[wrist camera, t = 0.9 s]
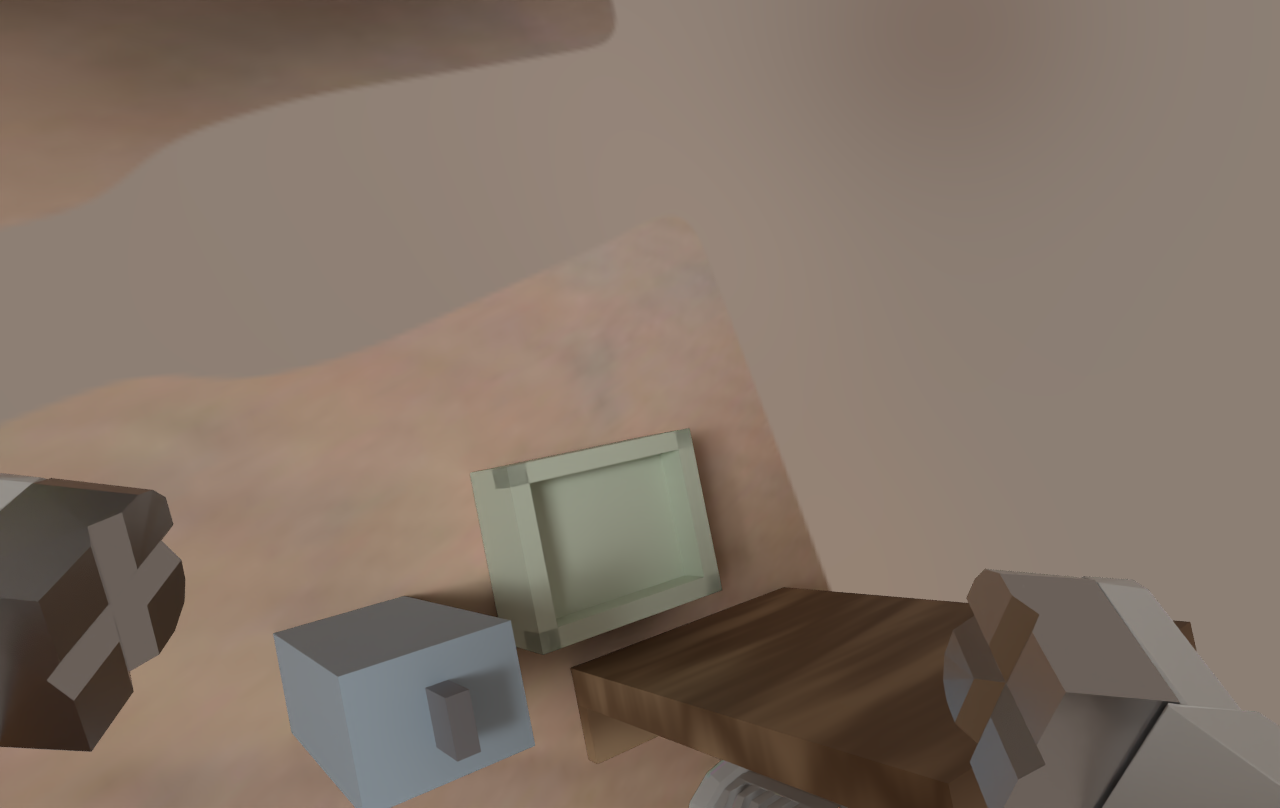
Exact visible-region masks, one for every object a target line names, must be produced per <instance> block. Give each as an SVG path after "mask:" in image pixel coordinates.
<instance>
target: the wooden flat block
mask: <svg viewBox="0 0 1280 808" xmlns="http://www.w3.org/2000/svg"><path fill="white" fill-rule="evenodd" d="M973 616H974V613H973V611H972V609H971V607H970V605H969V603H960V602H949V601H937V600H926V599H914V598H902V597H889V596H879V595H866V594H855V593H843V592H832V591H820V590H808V589H797V588H785V587H784V588H781V589H778V590H776V591H773V592H771V593H768V594H765V595H763V596H760V597H757V598H755V599H752V600H749V601H747V602H744V603H742V604H739V605H736V606H734V607H731V608H728V609H726V610H723V611H720V612H718V613H715V614H713V615H710V616H707V617H705V618H702V619H699V620H697V621H694V622H691V623H689V624H686V625H684V626H681V627H678V628H676V629H673V630H670V631H668V632H665V633H663V634H660V635H657V636H655V637H652V638H649V639H647V640H644V641H641V642H639V643H636V644H634V645H631V646H628V647H626V648H623V649H620V650H618V651H615V652H612V653H610V654H607V655H605V656H602V657H599V658H597V659H594V660H591V661H589V662H586V663H584V664H581V665H578V666H576V667H573V668H571V672H572V677H573V682H574V687H575V692H576V697H577V703H578V708H579V713H580V718H581V723H582V728H583V733H584V738H585V743H586V748H587V753H588V758H589V760H590V761H592V762H594V763H596V764H599V763H601V762H604V761H606V760H608V759H610V758H612V757H614V756H616V755H619V754H621V753H623V752H625V751H627V750H629V749H632V748H634V747H636V746H638V745H640V744H642V743H644V742H647V741H649V740H651V739H653V738H655V737H657V736H661V737H664V738H666V739H669V740H672V741H674V742H677V743H680V744H682V745H685V746H687V747H690V748H693V749H695V750H698V751H701V752H703V753H706V754H709V755H711V756H714V757H716V758H719V759H722V760H724V761H727V762H730V763H732V764H735V765H737V766H740V767H743V768H745V769H748V770H751V771H753V772H756V773H758V774H761V775H764V776H766V777H769V778H772V779H774V780H777V781H779V782H782V783H785V784H787V785H790V786H793V787H795V788H798V789H801V790H803V791H806V792H808V793H811V794H814V795H816V796H819V797H822V798H824V799H827V800H829V801H832V802H835V803H837V804H840V805H843V806H845V807H848V808H988V807H987V805H986V802H985V799H984V797H983V794H982V792H981V789H980V787H979V784H978V782H977V779H976V777H975V774H974V772H973V769H972V766H971V764H970V760H971V757H972V755H973V753H974V750H975V748H976V745H977V743H976V742H975V741H974V740H973V739H972V738H971V737H970V736H969V735H968V734H966V733H965V732H964V731H963V730H962V729H961V728H960V727H959V726H958V725H957V724H955V722H954V720H953V717H952V714H951V712H950V709H949V706H948V703H947V700H946V694H945V689H944V683H943V672H944V654H945V651H946V649H947V646H948V643H949V640H950V637H951V635H952V632H953V630H954V629H956V628H957V627H958V626H960V625H961V624H963V623H964V622H966V621H967V620H968V619H970V618H971V617H973ZM1173 622H1174V623H1175V625H1176V626H1177V627H1178V628H1179V630H1180V631H1181V632H1182V634H1183V635H1184V636H1185V637H1186V639H1187V640H1188V641H1189V643H1190V644H1191V645H1192V647H1193V648H1194V649H1195V650H1196V647H1195V642H1194V638H1193V633H1192V628H1191V624H1190V622H1184V621H1173ZM1196 652H1197V651H1196Z"/></svg>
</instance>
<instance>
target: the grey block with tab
mask: <svg viewBox="0 0 1280 808" xmlns="http://www.w3.org/2000/svg"><path fill="white" fill-rule="evenodd" d="M273 635H274V640H275V646H276V651H277V656H278V662H279V667H280V672H281V678H282V683H283V689H284V694H285V699H286V705H287V710H288V715H289V721H290V726H291V731H292V733H293V735H294V736H295V737H296V738H297V739H298V741H299V742H300V743H301V744H302V745H303V746H304V748H305V749H306V750H307V751H308V752H309V754H310V755H311V756H312V757H313V758H314V759H315V761H316V762H317V763H318V764H319V765H320V766H321V768H322V769H323V770H324V771H325V772H326V774H327V775H328V776H329V777H330V778H331V779H332V781H333V782H334V783H335V784H336V785H337V787H338V788H339V789H340V790H341V791H342V792H343V794H344V795H345V796H346V797H347V798H348V799H349V801H350V802H351V803H352V804H353V805H354V807H355V808H391V807H393V806H395V805H398V804H400V803H402V802H405V801H407V800H409V799H412V798H414V797H416V796H419V795H421V794H423V793H426V792H428V791H430V790H433V789H435V788H437V787H440V786H442V785H444V784H447V783H449V782H451V781H454V780H456V779H458V778H461V777H463V776H465V775H468V774H470V773H472V772H475V771H477V770H479V769H482V768H484V767H486V766H489V765H491V764H493V763H496V762H498V761H500V760H503V759H505V758H507V757H510V756H512V755H514V754H517V753H519V752H521V751H524V750H526V749H528V748H531V747H533V746H535V742H534V737H533V732H532V727H531V722H530V717H529V712H528V706H527V701H526V696H525V691H524V686H523V681H522V676H521V671H520V665H519V660H518V655H517V650H516V645H515V640H514V635H513V630H512V624H511V620H507V619H502V618H498V617H494V616H489V615H485V614H480V613H476V612H472V611H467V610H463V609H459V608H454V607H450V606H446V605H441V604H437V603H432V602H428V601H424V600H419V599H415V598H411V597H406V596H402V597H399V598H395V599H392V600H388V601H385V602H381V603H378V604H374V605H371V606H367V607H364V608H360V609H357V610H353V611H350V612H346V613H343V614H339V615H336V616H332V617H329V618H325V619H322V620H318V621H315V622H311V623H308V624H304V625H301V626H297V627H294V628H290V629H287V630H283V631H280V632H276V633H273Z"/></svg>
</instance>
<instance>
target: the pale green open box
mask: <svg viewBox="0 0 1280 808" xmlns="http://www.w3.org/2000/svg"><path fill="white" fill-rule="evenodd" d="M470 476H471V481H472V486H473V492H474V497H475V502H476V507H477V512H478V517H479V522H480V528H481V533H482V538H483V543H484V548H485V553H486V558H487V564H488V569H489V574H490V579H491V584H492V589H493V594H494V600H495V605H496V610H497V615H498V618H502V619H507V620H511V624H512V630H513V635H514V640H515V645H516V647H518V648H522V649H525V650H529V651H532V652H535V653H539V654H542V655H544V654H547V653H549V652H552V651H555V650H558V649H561V648H563V647H566V646H569V645H572V644H574V643H577V642H580V641H583V640H585V639H588V638H591V637H594V636H597V635H599V634H602V633H605V632H608V631H610V630H613V629H616V628H619V627H621V626H624V625H627V624H630V623H633V622H635V621H638V620H641V619H644V618H646V617H649V616H652V615H655V614H657V613H660V612H663V611H666V610H669V609H671V608H674V607H677V606H680V605H682V604H685V603H688V602H691V601H693V600H696V599H699V598H702V597H705V596H707V595H710V594H713V593H716V592H718V591H721V590H722V587H721V582H720V577H719V572H718V567H717V562H716V557H715V552H714V547H713V542H712V537H711V533H710V528H709V523H708V518H707V513H706V508H705V503H704V498H703V493H702V488H701V483H700V478H699V473H698V468H697V463H696V458H695V453H694V449H693V444H692V439H691V434H690V429H689V428H688V429H682V430H677V431H671V432H666V433H660V434H655V435H649V436H644V437H639V438H634V439H629V440H624V441H620V442H615V443H610V444H605V445H600V446H596V447H591V448H586V449H581V450H577V451H572V452H567V453H562V454H558V455H553V456H548V457H543V458H538V459H534V460H529V461H524V462H519V463H515V464H510V465H505V466H500V467H496V468H491V469H486V470H481V471H476V472H472V473H470Z"/></svg>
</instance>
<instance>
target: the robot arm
mask: <svg viewBox="0 0 1280 808" xmlns="http://www.w3.org/2000/svg"><path fill="white" fill-rule="evenodd" d="M172 526H173V522H172V518H171V515H170V511H169V507H168V504H167V500H166V497H164V496H162V495H161V494H159V493H157V492H155V491H154V490H149V489H141V488H132V487H123V486H115V485H106V484H98V483H89V482H81V481H72V480H63V479H55V478H49V479H45V478H40V477H31V476H22V475H13V474H4V473H0V747H13V748H32V749H51V750H70V751H89V752H91V751H92V750H93V749H94V747H95V746H96V744H97V743H98V741H99V740H100V739H101V737H102V736H103V734H104V733H105V731H106V730H107V729H108V727H109V726H110V724H111V723H112V721H113V720H114V719H115V717H116V716H117V714H118V713H119V711H120V710H121V709H122V707H123V706H124V704H125V703H126V701H127V700H128V699H129V697H130V696H131V694H132V693H133V686H132V680H131V675H130V671H131V670H133V669H135V668H136V667H138V666H140V665H142V664H143V663H145V662H147V661H148V660H150V659H152V658H154V657H155V656H157V655H159V654H160V652H161V651H162V649H163V648H164V646H165V645H166V643H167V642H168V640H169V639H170V637H171V636H172V634H173V633H174V631H175V629H176V626H177V623H178V620H179V616H180V613H181V610H182V607H183V604H184V598H185V576H184V571H183V566H182V561H181V559H180V558H179V557H178V556H177V555H176V554H175V553H174V552H173V551H172V550H171V549H170V548H168V547H167V546H166V545H165V544H164V543H163V542H162V541H161V540H162V539H163V538H164V536H165V535H166V534H167V532H168V531H169V530H170V528H171V527H172ZM967 600H968V603H969V605H970V607H971V609H972V611H973V613H974V616H973V617H971V618H970V619H968V620H967V621H966V622H964V623H963V624H961V625H960V626H958V627H957V628H956V629H954V630H953V632H952V635H951V637H950V640H949V643H948V646H947V649H946V651H945V654H944V672H943V683H944V689H945V694H946V700H947V703H948V706H949V709H950V712H951V714H952V717H953V720H954V722H955V724H957V725H958V726H959V727H960V728H961V729H962V730H963V731H964V732H965V733H966V734H968V735H969V736H970V737H971V738H972V739H973V740H974V741H975V742H976V743H977V745H976V748H975V750H974V753H973V755H972V757H971V760H970V764H971V766H972V769H973V772H974V774H975V777H976V779H977V782H978V784H979V787H980V789H981V792H982V794H983V797H984V799H985V802H986V805H987V807H988V808H1280V726H1279V725H1277V724H1276V723H1274V722H1273V721H1271V720H1270V719H1268V718H1267V717H1265V716H1264V715H1262V714H1261V713H1259V712H1255V711H1245V710H1241V709H1240V707H1239V706H1238V705H1237V704H1236V702H1235V701H1234V700H1233V698H1232V697H1231V696H1230V695H1229V693H1228V692H1227V691H1226V689H1225V688H1224V687H1223V686H1222V684H1221V683H1220V682H1219V680H1218V679H1217V678H1216V676H1215V675H1214V674H1213V672H1212V671H1211V670H1210V669H1209V667H1208V666H1207V665H1206V664H1205V662H1204V661H1203V659H1202V658H1201V657H1200V656H1199V654H1198V653H1197V652H1196V650H1195V649H1194V648H1193V647H1192V645H1191V644H1190V643H1189V641H1188V640H1187V639H1186V637H1185V636H1184V635H1183V634H1182V632H1181V631H1180V630H1179V628H1178V627H1177V626H1176V625H1175V623H1174V622H1173V621H1172V620H1171V618H1170V617H1169V615H1168V614H1167V613H1166V612H1165V610H1164V609H1163V608H1162V606H1161V605H1160V604H1159V603H1158V601H1157V600H1156V599H1155V597H1154V596H1153V595H1152V594H1151V592H1150V591H1149V590H1148V589H1147V588H1145V587H1144V586H1142V585H1141V584H1139V583H1138V582H1136V581H1134V580H1128V579H1114V578H1099V577H1085V576H1084V577H1082V578H1079V577H1070V576H1059V575H1048V574H1036V573H1025V572H1014V571H1003V570H991V569H984V570H983V571H982V572H981V573H980V575H978V577H976V578H975V580H974V582H973V584H972V587H971V589H970V591H969V594H968V596H967Z"/></svg>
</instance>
